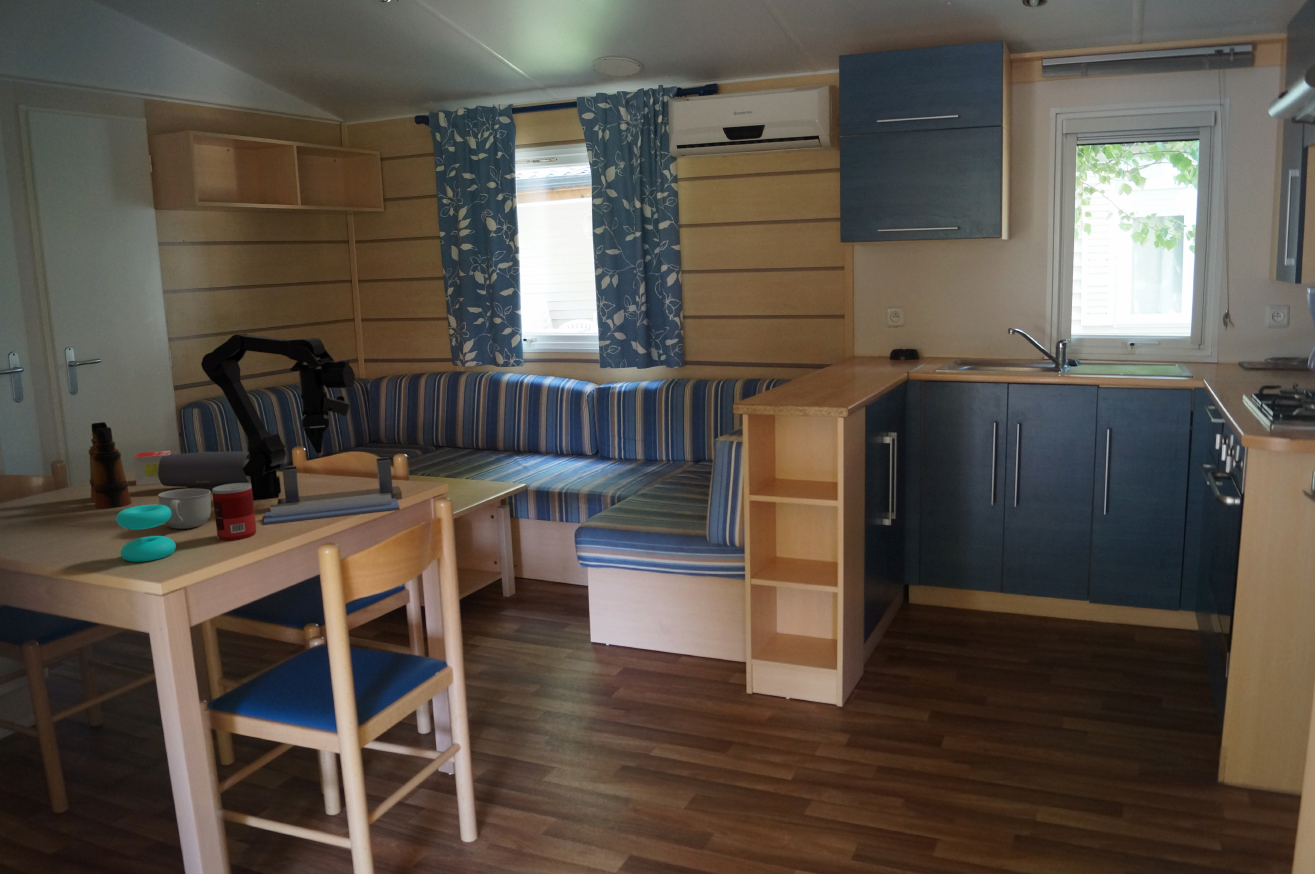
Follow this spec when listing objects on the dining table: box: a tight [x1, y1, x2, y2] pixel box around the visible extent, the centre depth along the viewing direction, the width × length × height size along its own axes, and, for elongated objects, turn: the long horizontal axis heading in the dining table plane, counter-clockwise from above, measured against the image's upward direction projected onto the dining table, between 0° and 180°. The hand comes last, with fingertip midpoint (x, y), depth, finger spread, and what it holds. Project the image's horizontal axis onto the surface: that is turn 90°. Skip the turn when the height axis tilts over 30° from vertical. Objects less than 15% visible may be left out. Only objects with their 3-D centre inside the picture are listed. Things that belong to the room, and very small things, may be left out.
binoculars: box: [88, 421, 132, 510], centre depth 251 cm, size 18×8×20 cm, turn 35°
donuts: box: [115, 503, 177, 563], centre depth 199 cm, size 10×10×10 cm
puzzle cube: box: [132, 450, 172, 486], centre depth 277 cm, size 8×8×8 cm
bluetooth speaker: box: [158, 450, 251, 491], centre depth 264 cm, size 23×9×10 cm, turn 92°
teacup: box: [157, 488, 212, 530], centre depth 222 cm, size 14×11×8 cm
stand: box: [276, 456, 403, 505], centre depth 242 cm, size 29×8×10 cm, turn 109°
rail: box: [269, 493, 392, 518], centre depth 231 cm, size 27×2×2 cm, turn 109°
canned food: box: [211, 482, 257, 542], centre depth 212 cm, size 8×8×11 cm
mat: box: [263, 498, 401, 525], centre depth 232 cm, size 30×10×1 cm, turn 109°
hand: (318, 450), depth 247 cm, fingers open, 9 cm apart
